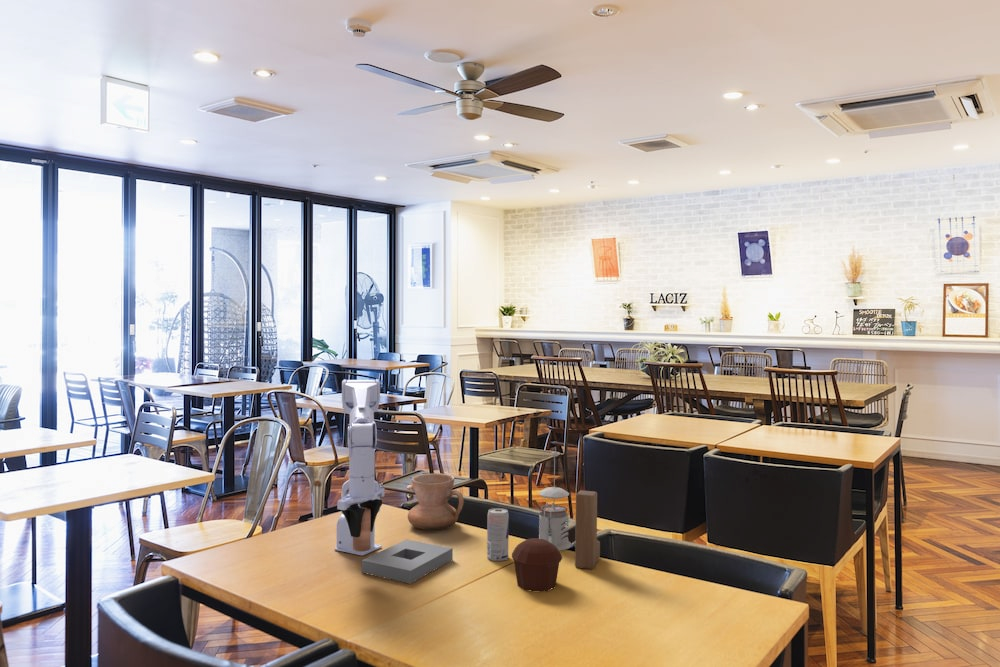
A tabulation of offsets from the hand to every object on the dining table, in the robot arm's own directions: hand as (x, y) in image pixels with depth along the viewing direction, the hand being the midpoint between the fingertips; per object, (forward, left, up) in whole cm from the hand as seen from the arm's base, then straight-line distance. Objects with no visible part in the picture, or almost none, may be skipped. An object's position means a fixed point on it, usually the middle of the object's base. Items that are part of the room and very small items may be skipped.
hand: (361, 533), depth 164 cm
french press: (+29, +44, -11) cm, 53 cm away
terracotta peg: (0, 0, -3) cm, 3 cm away
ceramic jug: (-8, +42, -11) cm, 44 cm away
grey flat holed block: (+5, +12, -10) cm, 16 cm away
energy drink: (+21, +28, -11) cm, 36 cm away
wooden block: (+42, +36, -11) cm, 56 cm away
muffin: (+37, +17, -11) cm, 42 cm away
